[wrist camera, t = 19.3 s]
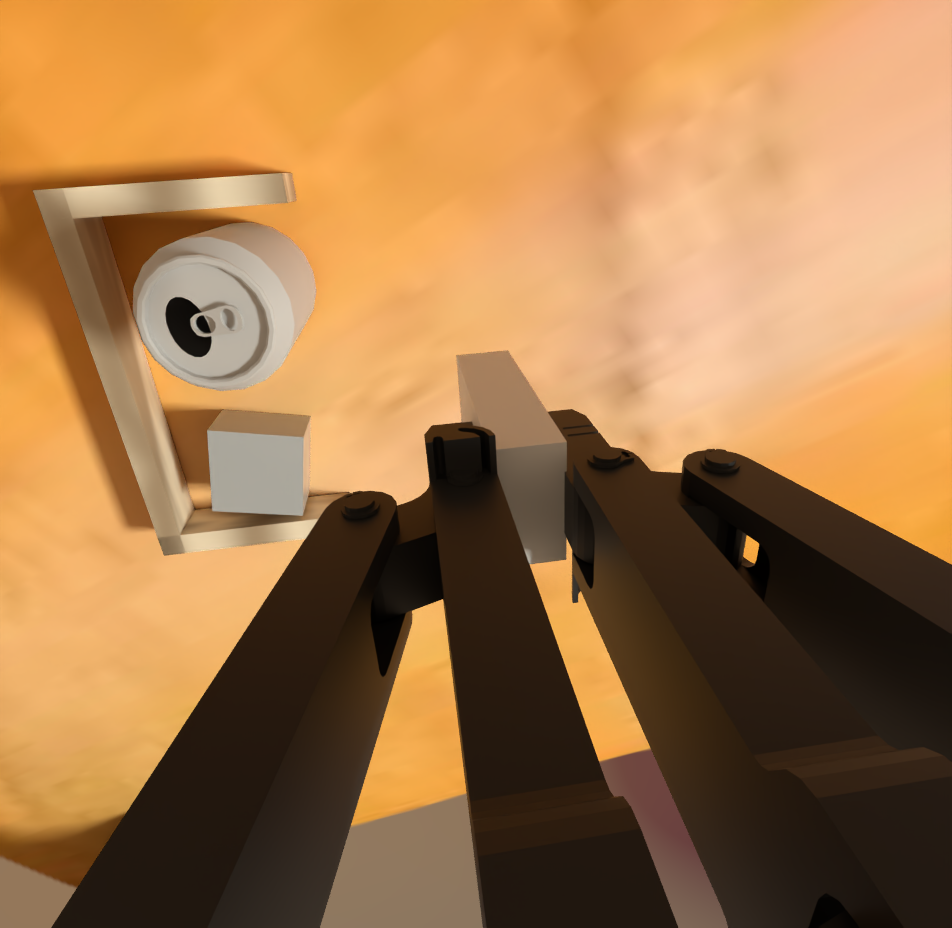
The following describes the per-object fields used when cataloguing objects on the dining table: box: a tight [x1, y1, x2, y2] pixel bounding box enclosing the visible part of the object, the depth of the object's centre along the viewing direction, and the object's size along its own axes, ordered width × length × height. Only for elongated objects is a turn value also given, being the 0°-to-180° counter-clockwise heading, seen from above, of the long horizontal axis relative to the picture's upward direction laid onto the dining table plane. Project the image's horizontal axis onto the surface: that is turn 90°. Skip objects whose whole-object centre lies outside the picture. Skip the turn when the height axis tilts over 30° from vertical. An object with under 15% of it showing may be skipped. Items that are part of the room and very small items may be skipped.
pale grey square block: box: [207, 409, 311, 516], centre depth 42 cm, size 6×6×4 cm
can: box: [133, 222, 316, 391], centre depth 33 cm, size 8×8×12 cm
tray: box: [33, 173, 350, 556], centre depth 39 cm, size 13×24×4 cm, turn 4°
